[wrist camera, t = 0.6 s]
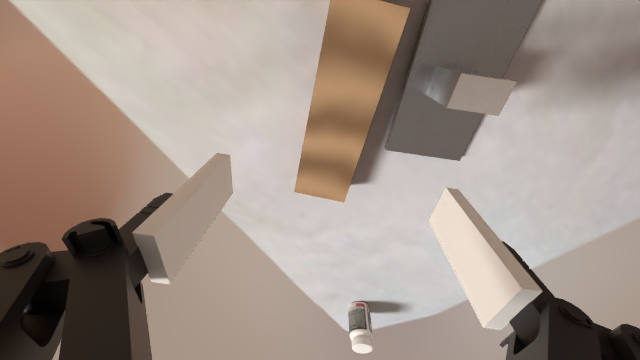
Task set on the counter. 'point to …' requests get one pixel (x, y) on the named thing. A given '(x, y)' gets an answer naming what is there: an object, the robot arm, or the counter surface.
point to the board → (347, 92)
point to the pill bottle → (360, 327)
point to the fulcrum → (457, 74)
